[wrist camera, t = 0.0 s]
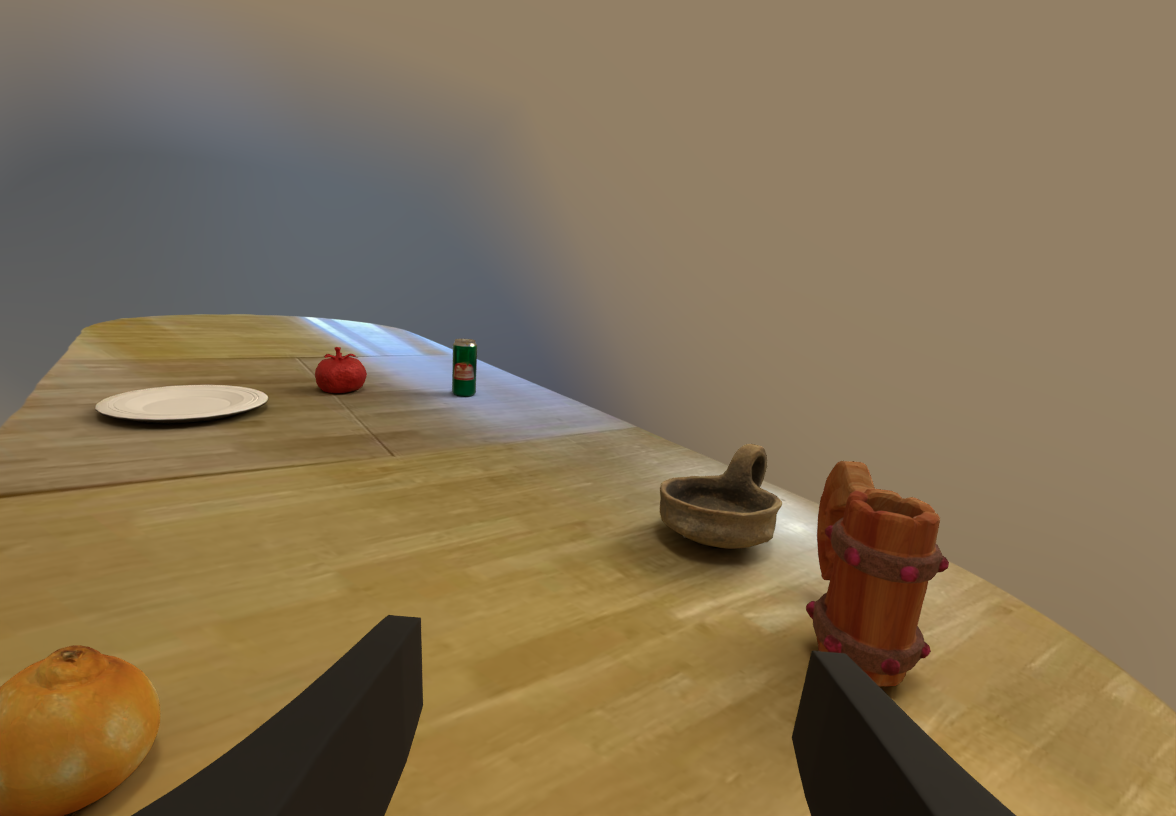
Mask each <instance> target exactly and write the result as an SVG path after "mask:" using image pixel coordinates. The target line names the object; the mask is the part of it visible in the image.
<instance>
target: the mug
mask: <svg viewBox="0 0 1176 816" xmlns="http://www.w3.org/2000/svg"><path fill="white" fill-rule="evenodd" d="M939 523H940V518H939V516H938V514H936V513H935V511H934V510H933V509H932V507H931V506H930V505H929V504H927V503H925V502H923V501H921V500H918V499H916V498H913V497H910V498H906V499H902V498H901V497H900V496H899V495H898V493H895V492H893V491H888V490H881V489H875V488H874V485H873V481H872V478H871V475H870V473H869V470H868V468H867V466H866V465H865V464H864V463H861V462H854V461H853V462H847V461H840V462H838V463H837V464H836V465H835V467H834V468H833V469H832V471H831V473H830V474H829V476H828V478H827V480H826V483H825V487H824V491H823V494H822V497H821V500H820V506H819V514H818V528H817V542H818V557H819V563H820V569H821V573H822V575H821V576H822V578H823V579H824V580H830V583H829V587H828V591H827V593H825V594H824V595H823V596H822V597H821V598H820V599H819V600H817V601H816V602H815V601H811V602H810V603H808V604H807V606H806V610H807V612H808V614H809V616H810V617H811V618H812V619H813V627H814V630H815V633H816V636H817V642H818V650H819V651H822V652H834V653H845V654H847V655H848V656H849V657H850V658H851V659H852V660H853V661H854V662H855V663H856V664H857V665H858V666H859V667H860V668H861V669H862V670H863V671H864V672H865V673H866V674H867V675H868V676H869V677H870V678H871V679H872V680H873V681H874V682H875V683H876V684H877V685H878V686H879V687H880V686H896V685H898V684H899V683H901V682H902V681H903V679H904V677H905V675H906V671H909V670H911V669H912V668H913V667H914V666H915V665H916V663H917V662H918V661H919V660H920V659H921V658H925V657H927V656H928V655H929V653H930V652H931V651H930V647H929V645H928V644H927V643H925V642H924V638H923V635H922V633H921V631H920V629H919V627H918V626H917V625H918V621H919V617H920V612H921V608H922V604H923V600H924V597H925V593H926V590H927V584H928V581H929V580H931V579H932V578H933V577H934V576H935V575H936V573H937V572H943V571H944V570H946V569H947V568H948V564H949V562H948V560H947V559H946V558H945V557H944V556H942V553H941V551H940V549H939V548H938V545H937V544H936V538H937V533H938V528H939Z"/></svg>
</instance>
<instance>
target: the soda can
mask: <svg viewBox="0 0 1176 816" xmlns="http://www.w3.org/2000/svg"><path fill="white" fill-rule="evenodd" d="M476 363H477V345H476V343H475V340H471V339H456V340H455V343H454V344H453V374H452V392H453V394H454V395H456V396H461V397H469V396H473V395H474V394H475V393H476Z"/></svg>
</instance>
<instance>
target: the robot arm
mask: <svg viewBox="0 0 1176 816" xmlns="http://www.w3.org/2000/svg"><path fill="white" fill-rule="evenodd" d="M422 707H423V688H422V646H421V618H417V617H405V616H393V615H388V616H387V617H385V618H384V619H383V620H382V621H381V622H379V623H378V624H377V625H376V626H375V627H374V628H373V629H372V630H371V631H370V632H369V633H367V634H366V635H365V636H364V637H363V638H362V639H361V640H360V641H359V642H358V643H357V644H356V645H355V646H353V647H352V648H351V649H350V650H349V651H348V652H347V653H346V654H345V655H344V656H343V657H341V658H340V659H339V660H338V661H337V662H336V663H335V664H334V665H333V666H332V667H330V668H329V669H328V670H327V671H326V672H325V673H324V674H322V675H321V676H320V677H319V678H318V679H317V680H316V681H314V682H313V683H312V684H311V685H310V686H309V687H308V688H306V689H305V690H304V691H303V692H302V693H301V694H300V695H298V696H297V697H296V698H295V699H294V700H292V701H291V702H290V703H289V704H288V705H286V706H285V707H284V708H283V709H281V710H280V711H279V712H278V713H276V714H275V715H274V716H273V717H271V718H270V719H269V720H268V721H266V722H265V723H264V724H263V725H262V726H260V727H259V728H258V729H257V730H255V731H254V732H253V733H252V734H250V735H249V736H248V737H246V738H245V739H244V740H243V741H241V742H240V743H239V744H237V745H236V746H235V747H233V748H232V749H231V750H229V751H228V752H227V753H225V754H224V755H222V756H221V757H220V758H218V759H217V760H216V761H214V762H213V763H211V764H210V765H209V766H207V767H206V768H204V769H203V770H201V771H200V772H198V773H197V774H196V775H194V776H193V777H191V778H190V779H188V780H187V781H185V782H184V783H182V784H181V785H179V786H178V787H176V788H175V789H173V790H172V791H170V792H169V793H167V794H166V795H164V796H162V797H161V798H159V799H158V800H156V801H154V802H153V803H151V804H149V805H148V806H146V807H145V808H143V809H141V810H140V811H138V812H137V813H135V814H133V815H132V816H384V815H385V813H386V810H387V808H388V805H389V803H390V801H391V798H392V796H393V793H394V791H395V788H396V786H397V784H398V781H399V779H400V776H401V774H402V771H403V769H404V766H405V764H406V761H407V758H408V755H409V751H410V748H411V745H412V742H413V738H414V735H415V731H416V728H417V724H418V721H419V717H420V714H421V710H422ZM792 740H793V745H794V750H795V754H796V759H797V764H798V768H799V773H800V777H801V781H802V785H803V789H804V794H805V798H806V801H807V804H808V807H809V810H810V813H811V816H1016V815H1015V814H1014V813H1012V812H1011V811H1010V810H1009V809H1008V808H1007V807H1006V806H1004V805H1003V804H1002V803H1001V802H1000V801H999V800H998V799H997V798H995V797H994V796H993V795H992V794H991V793H990V792H989V791H988V790H986V789H985V788H984V787H983V786H982V785H981V784H980V783H979V782H977V781H976V780H975V779H974V778H973V777H972V776H971V775H970V774H968V773H967V772H966V771H965V770H964V769H963V768H962V767H961V766H960V765H959V764H958V763H957V762H956V761H954V760H953V759H952V758H951V757H950V756H949V755H948V754H947V753H946V752H945V751H944V750H943V749H942V748H941V747H940V746H939V745H938V744H937V743H935V742H934V741H933V740H932V739H931V738H930V737H929V736H928V735H927V734H926V733H925V732H924V731H923V730H922V729H921V728H920V727H919V726H918V725H917V724H916V723H915V722H914V721H913V720H912V719H911V718H910V717H909V716H908V715H907V714H906V713H905V712H904V711H903V710H902V709H901V708H900V707H899V706H898V705H897V704H896V703H895V702H894V701H893V700H892V699H891V698H890V697H889V696H888V695H887V694H886V693H885V692H884V691H883V690H882V689H881V688H880V687H879V686H878V685H877V684H876V683H875V682H874V681H873V680H872V679H871V678H870V677H869V676H868V675H867V674H866V673H865V672H864V671H863V670H862V669H861V668H860V667H859V666H858V665H857V664H856V663H855V662H854V661H853V660H852V659H851V658H850V657H849V656H848V655H847V654H845V653H834V652H822V651H812V652H811V657H810V661H809V665H808V670H807V674H806V678H805V683H804V687H803V691H802V696H801V700H800V704H799V709H798V713H797V717H796V722H795V726H794V730H793V735H792Z"/></svg>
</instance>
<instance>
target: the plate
mask: <svg viewBox="0 0 1176 816" xmlns="http://www.w3.org/2000/svg"><path fill="white" fill-rule="evenodd" d="M267 400H268V396H267V395H266V394H265V393H263V392H260V391H258V390H255V389H250V388H245V387H236V386H224V385H184V386H168V387H158V388H149V389H143V390H136V391H131V392H126V393H122V394H117V395H114V396H111V397H108V398H105V399H103V400H102V401H100V402H99V403H97V404H96V411H98V412H99V413H101V414H102V415H105V416H109V417H113V418H117V419H126V420H134V421H139V422H148V423H189V422H201V421H208V420H215V419H220V418H225V417H229V416H233V415H236V414H239V413H243V412H246V411H249V410H252V409H255V408H258V407H260V406H261V405H263V404H265V403H266V402H267Z"/></svg>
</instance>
